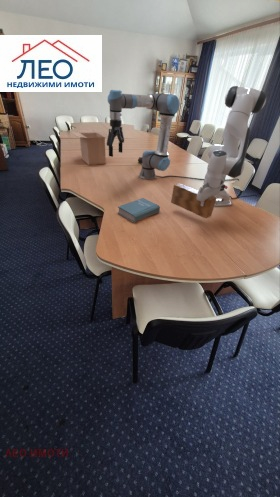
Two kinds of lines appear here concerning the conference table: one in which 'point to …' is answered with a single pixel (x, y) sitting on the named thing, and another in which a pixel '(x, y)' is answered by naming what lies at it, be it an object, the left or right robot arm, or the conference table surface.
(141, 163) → the laser sight
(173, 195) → the long box
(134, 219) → the book
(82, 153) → the box
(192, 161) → the conference table surface
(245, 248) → the conference table surface
